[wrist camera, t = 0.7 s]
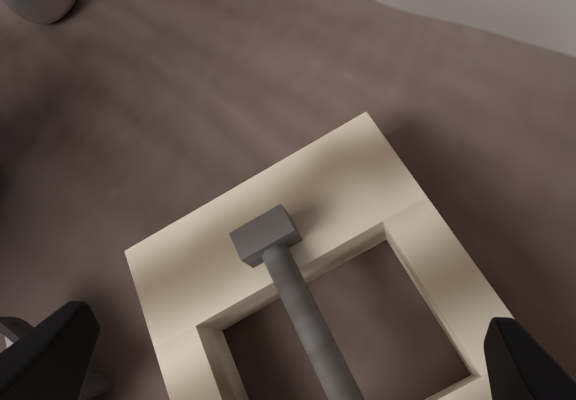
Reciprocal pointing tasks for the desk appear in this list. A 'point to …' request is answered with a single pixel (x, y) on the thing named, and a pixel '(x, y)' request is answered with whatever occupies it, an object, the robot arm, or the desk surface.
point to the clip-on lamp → (18, 328)
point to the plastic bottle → (40, 9)
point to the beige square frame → (304, 265)
